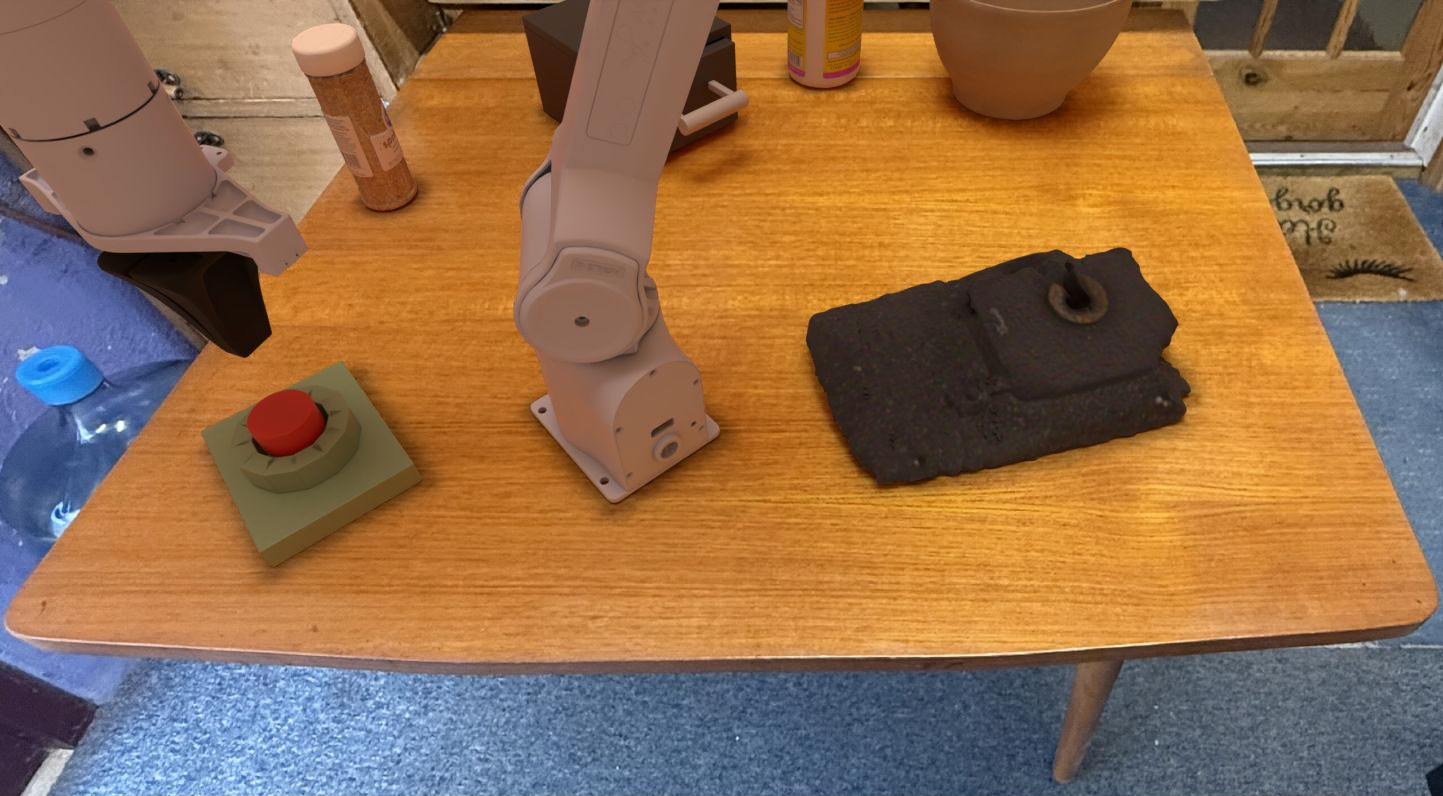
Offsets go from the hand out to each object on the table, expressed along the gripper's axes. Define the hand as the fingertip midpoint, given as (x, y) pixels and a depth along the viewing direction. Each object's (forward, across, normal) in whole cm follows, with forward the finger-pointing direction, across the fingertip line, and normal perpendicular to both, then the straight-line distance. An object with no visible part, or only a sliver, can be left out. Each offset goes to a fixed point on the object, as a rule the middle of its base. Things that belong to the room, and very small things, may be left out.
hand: (250, 342), depth 43 cm
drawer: (+9, -4, -39) cm, 40 cm away
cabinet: (+10, -1, -41) cm, 42 cm away
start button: (+7, 0, +1) cm, 7 cm away
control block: (+10, 0, +1) cm, 10 cm away
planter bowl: (+10, -31, -54) cm, 63 cm away
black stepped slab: (+10, -36, -21) cm, 42 cm away
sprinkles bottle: (+10, +13, -23) cm, 29 cm away
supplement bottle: (+10, -14, -53) cm, 56 cm away
